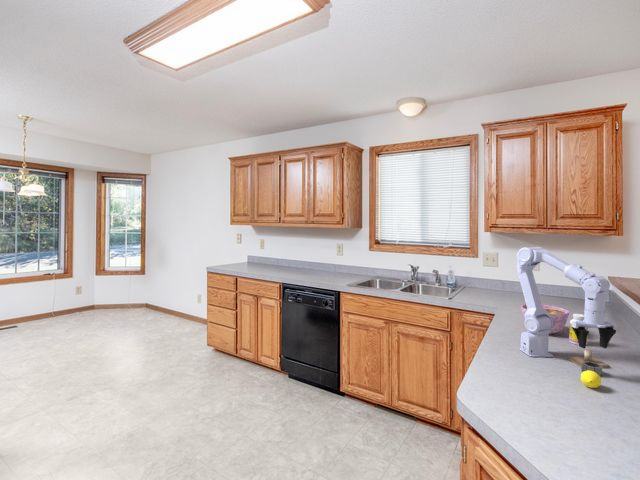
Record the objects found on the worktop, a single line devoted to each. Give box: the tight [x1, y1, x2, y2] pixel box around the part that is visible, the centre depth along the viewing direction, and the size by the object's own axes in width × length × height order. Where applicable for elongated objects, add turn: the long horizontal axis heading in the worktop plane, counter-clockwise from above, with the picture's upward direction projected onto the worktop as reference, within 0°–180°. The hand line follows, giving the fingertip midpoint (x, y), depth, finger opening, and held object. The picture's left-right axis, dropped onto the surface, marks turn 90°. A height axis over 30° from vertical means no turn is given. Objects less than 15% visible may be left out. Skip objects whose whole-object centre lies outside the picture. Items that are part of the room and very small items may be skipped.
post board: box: [566, 349, 611, 369], centre depth 130 cm, size 10×8×5 cm
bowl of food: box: [520, 303, 570, 335], centre depth 168 cm, size 20×20×12 cm
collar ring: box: [580, 361, 603, 377], centre depth 123 cm, size 6×6×3 cm
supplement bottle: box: [568, 313, 589, 346], centre depth 152 cm, size 7×7×13 cm
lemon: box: [580, 370, 602, 389], centre depth 112 cm, size 7×5×5 cm
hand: (592, 347), depth 122 cm, fingers open, 7 cm apart
